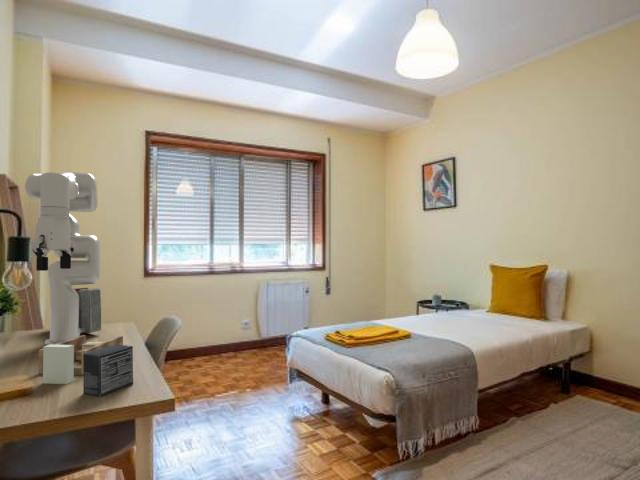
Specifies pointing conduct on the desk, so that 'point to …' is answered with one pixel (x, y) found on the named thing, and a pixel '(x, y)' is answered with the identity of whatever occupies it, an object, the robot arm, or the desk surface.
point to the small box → (107, 370)
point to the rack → (78, 346)
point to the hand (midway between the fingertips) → (54, 269)
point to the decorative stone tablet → (89, 309)
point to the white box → (58, 364)
